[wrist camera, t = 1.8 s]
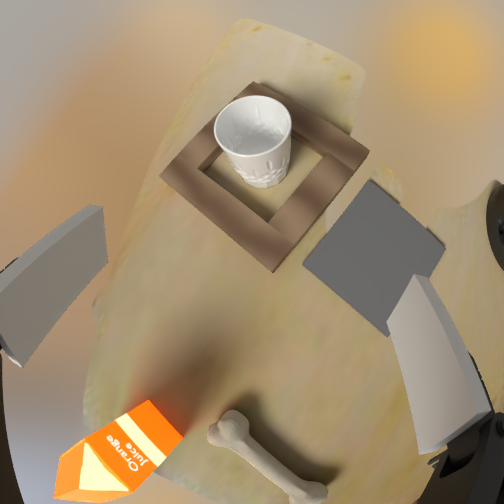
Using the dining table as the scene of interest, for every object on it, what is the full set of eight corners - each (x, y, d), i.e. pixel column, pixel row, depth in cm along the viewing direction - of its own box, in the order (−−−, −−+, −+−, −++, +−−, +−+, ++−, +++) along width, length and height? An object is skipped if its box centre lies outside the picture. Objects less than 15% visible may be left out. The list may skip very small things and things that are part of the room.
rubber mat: (367, 181, 33) (368, 179, 32) (443, 249, 30) (445, 248, 29) (302, 264, 32) (302, 263, 32) (386, 336, 29) (387, 337, 29)
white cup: (284, 199, 34) (280, 163, 24) (226, 185, 35) (202, 149, 26) (299, 147, 35) (299, 101, 25) (244, 136, 36) (228, 91, 26)
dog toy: (205, 422, 31) (193, 438, 26) (237, 400, 31) (229, 415, 26) (298, 500, 27) (298, 520, 22) (331, 483, 27) (334, 503, 22)
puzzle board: (255, 89, 37) (253, 81, 35) (366, 157, 33) (369, 150, 31) (164, 181, 37) (158, 176, 35) (273, 273, 33) (271, 271, 31)
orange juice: (117, 421, 33) (30, 470, 13) (148, 398, 33) (50, 455, 13) (150, 458, 31) (76, 523, 12) (184, 438, 31) (109, 519, 12)
